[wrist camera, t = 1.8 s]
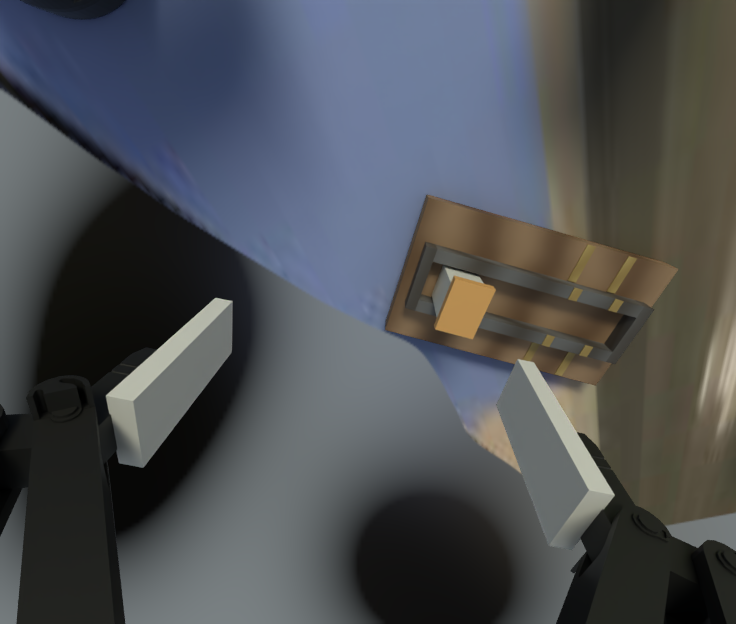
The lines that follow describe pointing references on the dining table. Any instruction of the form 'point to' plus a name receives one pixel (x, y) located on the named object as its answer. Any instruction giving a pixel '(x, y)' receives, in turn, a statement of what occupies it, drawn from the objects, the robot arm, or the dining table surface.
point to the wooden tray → (529, 290)
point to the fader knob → (460, 301)
